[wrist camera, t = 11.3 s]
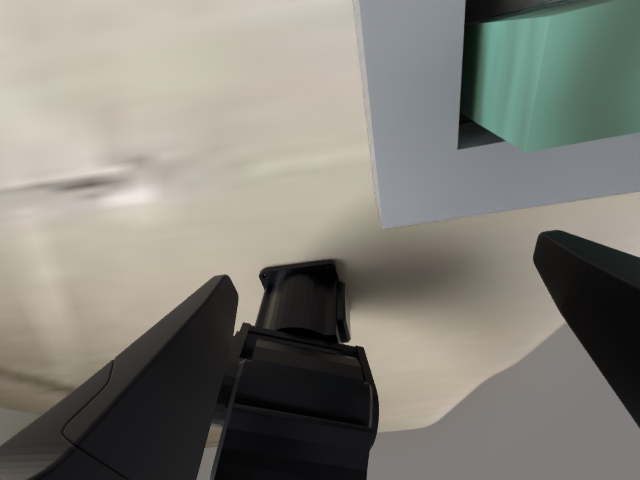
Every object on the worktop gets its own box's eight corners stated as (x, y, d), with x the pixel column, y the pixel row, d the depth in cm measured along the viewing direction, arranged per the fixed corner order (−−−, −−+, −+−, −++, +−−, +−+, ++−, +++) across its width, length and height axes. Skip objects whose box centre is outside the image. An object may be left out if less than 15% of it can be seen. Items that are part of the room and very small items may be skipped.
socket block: (375, 198, 21) (382, 229, 17) (343, -84, 13) (346, -125, 10) (598, 162, 18) (655, 189, 15) (719, -202, 11) (888, -307, 7)
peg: (453, 108, 17) (525, 152, 11) (456, 25, 15) (549, 16, 8) (527, 93, 17) (653, 129, 10) (541, 4, 14) (715, -24, 8)
